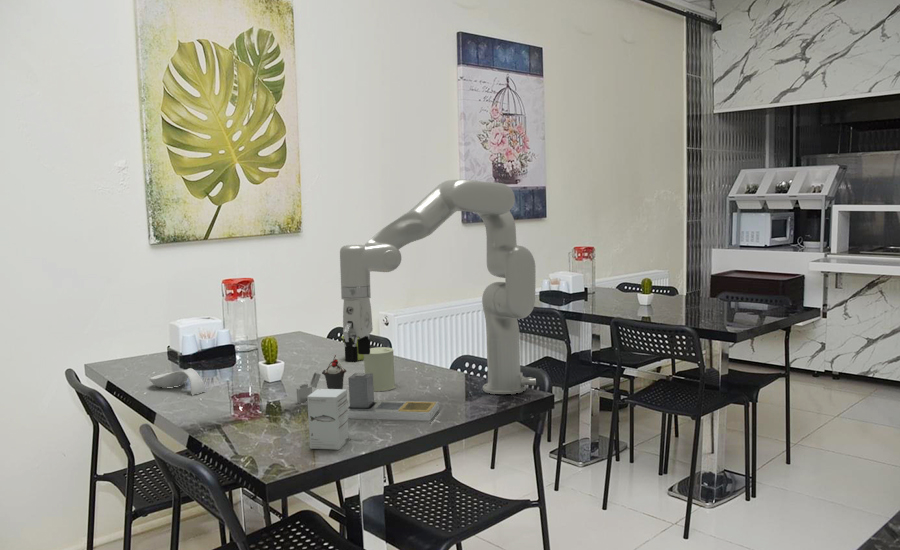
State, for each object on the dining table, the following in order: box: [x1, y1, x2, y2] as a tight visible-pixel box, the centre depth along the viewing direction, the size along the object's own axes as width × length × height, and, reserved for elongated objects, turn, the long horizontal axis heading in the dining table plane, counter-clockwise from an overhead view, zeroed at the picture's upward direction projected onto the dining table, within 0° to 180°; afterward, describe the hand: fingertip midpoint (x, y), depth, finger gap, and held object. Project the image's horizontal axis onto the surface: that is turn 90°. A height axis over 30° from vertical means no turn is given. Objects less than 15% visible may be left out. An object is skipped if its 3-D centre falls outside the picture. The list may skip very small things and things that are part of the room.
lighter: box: [296, 371, 322, 405], centre depth 208 cm, size 7×2×8 cm, turn 126°
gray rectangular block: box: [347, 372, 375, 409], centre depth 191 cm, size 5×5×10 cm
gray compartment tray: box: [347, 399, 440, 425], centre depth 190 cm, size 24×10×3 cm, turn 78°
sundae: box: [321, 354, 348, 389], centre depth 201 cm, size 7×7×15 cm
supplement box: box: [307, 388, 349, 451], centre depth 170 cm, size 7×7×13 cm
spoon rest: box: [149, 367, 207, 395], centre depth 229 cm, size 24×12×7 cm, turn 49°
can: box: [363, 346, 396, 393], centre depth 220 cm, size 9×9×12 cm
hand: (358, 357), depth 190 cm, fingers open, 9 cm apart
